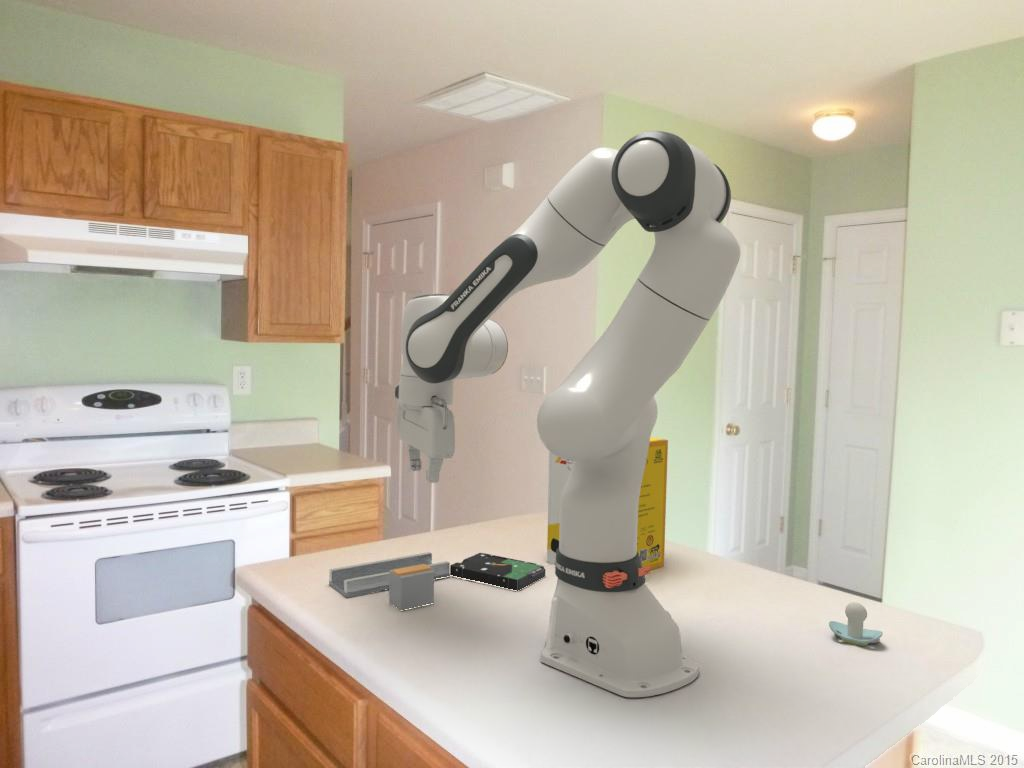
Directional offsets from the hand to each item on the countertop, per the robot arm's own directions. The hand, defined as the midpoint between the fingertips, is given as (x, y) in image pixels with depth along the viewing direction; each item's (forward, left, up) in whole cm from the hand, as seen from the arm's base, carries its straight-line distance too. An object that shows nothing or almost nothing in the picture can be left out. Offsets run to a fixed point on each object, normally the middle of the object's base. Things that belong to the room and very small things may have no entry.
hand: (423, 475), depth 126 cm
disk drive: (+3, -18, -22) cm, 28 cm away
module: (-1, +2, -21) cm, 21 cm away
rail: (+11, 0, -21) cm, 24 cm away
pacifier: (-50, -47, -22) cm, 71 cm away
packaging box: (-2, -40, -21) cm, 45 cm away
